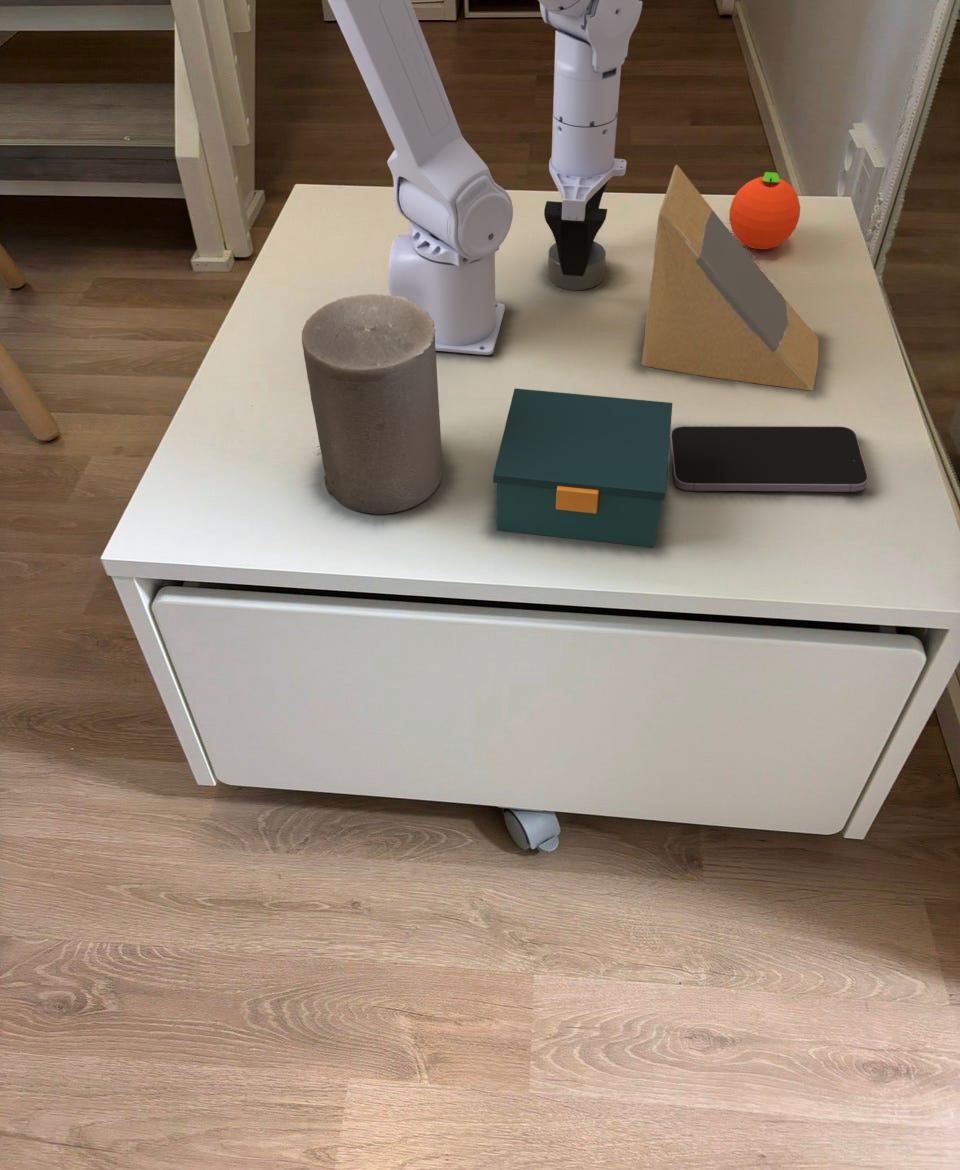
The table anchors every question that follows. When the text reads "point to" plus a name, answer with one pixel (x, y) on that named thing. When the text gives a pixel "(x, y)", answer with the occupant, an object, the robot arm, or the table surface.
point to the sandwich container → (718, 303)
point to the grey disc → (589, 280)
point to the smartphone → (767, 458)
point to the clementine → (764, 212)
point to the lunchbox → (583, 467)
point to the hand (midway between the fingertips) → (577, 252)
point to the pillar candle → (375, 401)
